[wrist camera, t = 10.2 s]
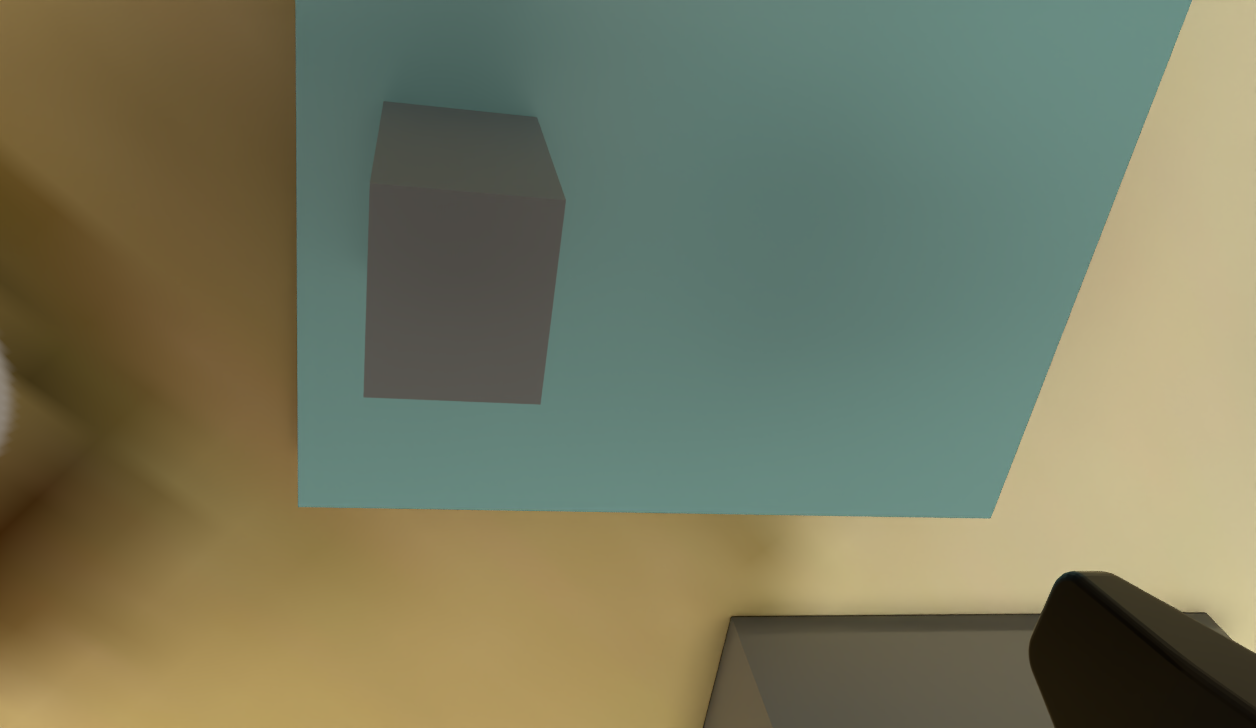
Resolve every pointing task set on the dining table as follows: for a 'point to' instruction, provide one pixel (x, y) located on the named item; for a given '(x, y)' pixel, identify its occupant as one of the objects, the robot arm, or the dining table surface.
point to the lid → (697, 245)
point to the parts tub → (880, 672)
